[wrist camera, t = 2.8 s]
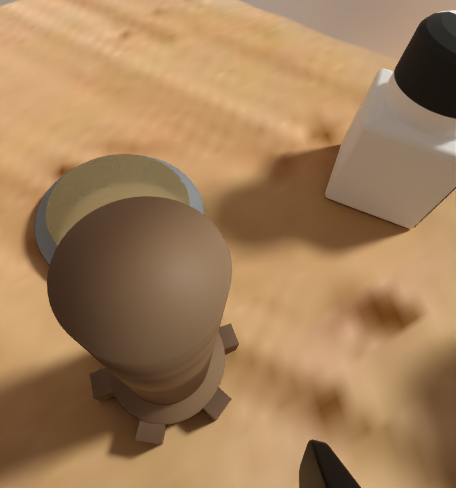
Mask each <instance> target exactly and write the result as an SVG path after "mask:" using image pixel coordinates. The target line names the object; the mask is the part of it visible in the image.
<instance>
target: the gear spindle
mask: <svg viewBox="0 0 456 488" xmlns="http://www.w3.org/2000/svg"><path fill="white" fill-rule="evenodd" d="M231 277H232V264H231V257H230V252H229V249H228V247H227V244H226V242H225V240H224V238H223V236H222V234H221V233H220V231H219V230H218V228H217V227H216V226H215V225H214V224H213V223H212V222H211V220H210V219H208V218H207V217H206V216H205V215H204V214H202V213H201V212H199V211H198V210H196V209H195V208H193V207H191V206H189V205H187V204H185V203H182V202H179V201H176V200H173V199H168V198H163V197H155V196H141V197H131V198H126V199H121V200H118V201H114V202H111V203H109V204H106V205H104V206H102V207H100V208H98V209H96V210H94V211H92V212H91V213H89V214H87V215H86V216H84V217H83V218H82V219H81V220H79V221H78V222H77V223H76V224H75V225H74V226H73V227H72V228H71V229H70V230H69V231H68V232H67V233H66V235H65V236H64V237H63V238H62V240H61V241H60V243H59V245H58V246H57V248H56V250H55V252H54V254H53V257H52V259H51V262H50V266H49V270H48V278H47V290H48V297H49V302H50V306H51V308H52V311H53V313H54V315H55V317H56V319H57V320H58V322H59V324H60V325H61V326H62V328H63V329H64V330H65V331H66V332H67V333H68V334H69V335H70V336H71V337H72V338H73V339H74V340H75V341H77V342H78V343H79V344H80V345H81V346H82V347H83V348H85V349H86V350H87V351H88V352H89V353H90V354H91V355H92V356H94V357H95V358H96V359H97V360H98V361H99V362H100V363H102V364H103V365H104V366H105V367H106V368H105V369H102V370H99V371H96V372H94V373H91V374H90V377H91V383H92V389H93V394H94V399H96V400H99V401H104V400H106V399H109V398H112V397H114V396H115V397H116V399H117V401H118V402H119V403H120V405H121V406H122V407H123V408H124V409H125V410H126V411H128V412H129V413H130V414H132V415H133V416H135V417H136V418H139V419H140V421H139V425H138V429H137V433H136V437H135V440H136V441H142V442H148V443H153V444H159V445H162V444H163V440H164V435H165V430H166V426H167V425H171V424H176V423H180V422H183V421H186V420H188V419H189V418H191V417H193V416H195V415H196V414H198V413H199V412H200V411H201V410H203V411H204V412H205V413H206V414H207V415H208V416H209V417H210V418H211V419H212V420H213V421H214V422H215V421H216V420H217V419H218V417H219V416H220V414H221V413H222V412H223V410H224V409H225V407H226V406H227V405H228V403H229V402H230V401H231V398H230V397H229V396H228V395H227V394H225V393H224V392H223V391H222V390H221V389H220V388H219V385H220V382H221V379H222V376H223V372H224V366H225V354H226V353H229V352H232V351H234V350H236V348H237V346H238V345H239V343H238V340H237V338H236V335H235V333H234V330H233V328H232V325H231V324H228V325H225V326H222V327H220V323H221V319H222V316H223V312H224V308H225V304H226V300H227V297H228V293H229V289H230V284H231Z"/></svg>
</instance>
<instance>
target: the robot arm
mask: <svg viewBox="0 0 456 488" xmlns="http://www.w3.org/2000/svg"><path fill="white" fill-rule="evenodd" d="M299 488H361V487H360V486H359V484H358V483H357V482H356V480H355V479H354V478H353V477H352V475H351V474H350V473H349V471H348V470H347V469H346V467H345V466H344V465H343V464H342V462H341V461H340V460H339V458H338V457H337V456H336V454H335V453H334V452H333V451H332V449H331V448H330V447H329V445H328V444H326V443H325V442H321V441H317V440H310V441H309V442H308V444H307V447H306V450H305V453H304V456H303V459H302V462H301V465H300V470H299Z"/></svg>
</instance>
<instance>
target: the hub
mask: <svg viewBox="0 0 456 488" xmlns="http://www.w3.org/2000/svg"><path fill="white" fill-rule="evenodd" d="M141 196H155V197H163V198H168V199H173V200H176V201H179V202H182V203H185V204H187V205H189V206H190V200H189V195H188V191H187V189H186V187H185V185H184V183H183V181H182V180H181V178H180V177H179V176H178V175H177V174H176V173H175V172H174V171H173V170H172V169H170V168H169V167H168V166H166V165H164V164H163V163H161V162H159V161H156V160H154V159H151V158H148V157H144V156H139V155H130V154H118V155H109V156H104V157H100V158H96V159H93V160H90V161H88V162H86V163H83V164H81V165H80V166H78V167H76V168H74V169H73V170H72V171H70V172H69V173H68V174H66V175H65V176H64V177H63V178H62V179H61V180H60V181H59V182H58V184H57V185H56V186H55V188H54V189H53V191H52V193H51V195H50V197H49V199H48V202H47V206H46V223H47V228H48V230H49V232H50V235H51V237H52V238H53V239H54V241H55V242H56V244H57V245H59V243H60V241H61V240H62V238H63V237H64V236H65V235H66V233H67V232H68V231H69V230H70V229H71V228H72V227H73V226H74V225H75V224H76V223H77V222H78V221H79V220H81V219H82V218H83V217H84V216H86V215H87V214H89V213H91V212H92V211H94V210H96V209H98V208H100V207H102V206H104V205H106V204H109V203H111V202H114V201H118V200H121V199H126V198H131V197H141Z"/></svg>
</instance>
